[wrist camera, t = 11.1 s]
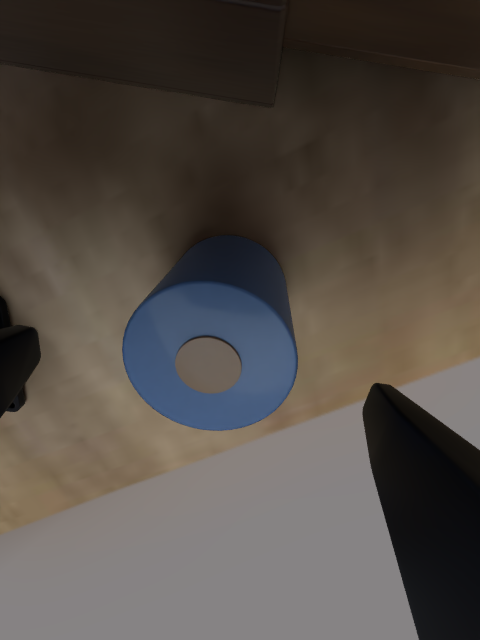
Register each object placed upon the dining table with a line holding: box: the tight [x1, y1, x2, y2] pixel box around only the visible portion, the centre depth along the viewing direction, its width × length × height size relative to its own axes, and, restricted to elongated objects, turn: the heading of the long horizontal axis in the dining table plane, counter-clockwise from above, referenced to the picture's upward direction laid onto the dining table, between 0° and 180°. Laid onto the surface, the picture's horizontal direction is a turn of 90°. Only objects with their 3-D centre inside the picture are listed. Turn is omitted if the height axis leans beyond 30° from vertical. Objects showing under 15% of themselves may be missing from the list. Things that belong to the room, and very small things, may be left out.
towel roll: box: [122, 235, 298, 431], centre depth 11 cm, size 5×5×6 cm
